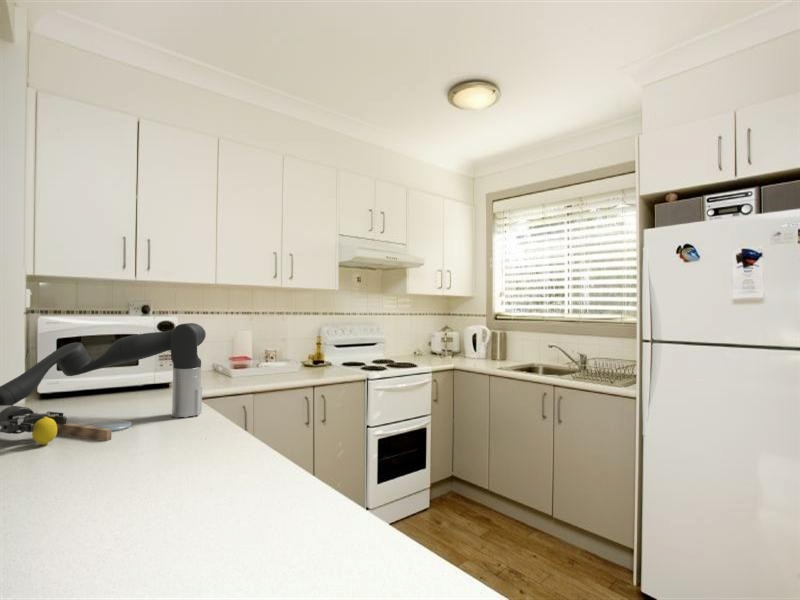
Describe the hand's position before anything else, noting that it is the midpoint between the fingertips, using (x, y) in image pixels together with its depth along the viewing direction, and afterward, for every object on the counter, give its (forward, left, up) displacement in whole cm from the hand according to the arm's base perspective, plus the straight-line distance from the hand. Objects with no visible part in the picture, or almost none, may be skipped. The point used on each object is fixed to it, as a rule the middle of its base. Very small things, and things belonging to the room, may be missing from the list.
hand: (49, 424), depth 125 cm
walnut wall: (-3, -9, -6) cm, 12 cm away
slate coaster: (-8, -18, -6) cm, 20 cm away
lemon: (+1, -1, -6) cm, 6 cm away
